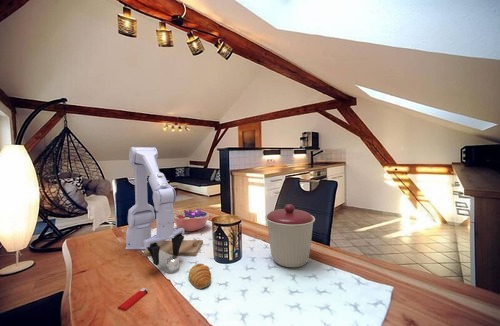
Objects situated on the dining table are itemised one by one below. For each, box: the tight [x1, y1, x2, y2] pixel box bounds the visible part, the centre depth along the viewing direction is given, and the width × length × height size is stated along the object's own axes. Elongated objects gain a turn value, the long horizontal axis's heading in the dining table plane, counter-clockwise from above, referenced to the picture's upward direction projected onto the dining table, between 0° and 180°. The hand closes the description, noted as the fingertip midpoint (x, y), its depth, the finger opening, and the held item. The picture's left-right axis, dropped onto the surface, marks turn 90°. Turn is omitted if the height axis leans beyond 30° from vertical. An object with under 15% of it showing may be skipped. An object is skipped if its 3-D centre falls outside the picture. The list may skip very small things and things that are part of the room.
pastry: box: [187, 263, 212, 290], centre depth 66 cm, size 9×7×4 cm
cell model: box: [173, 208, 210, 232], centre depth 112 cm, size 17×20×11 cm
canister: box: [264, 203, 316, 268], centre depth 77 cm, size 18×18×21 cm
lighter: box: [117, 287, 148, 312], centre depth 57 cm, size 3×1×8 cm
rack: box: [142, 238, 204, 257], centre depth 88 cm, size 21×12×4 cm, turn 89°
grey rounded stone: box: [152, 250, 180, 275], centre depth 74 cm, size 12×4×4 cm, turn 54°
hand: (166, 259), depth 74 cm, fingers open, 7 cm apart
